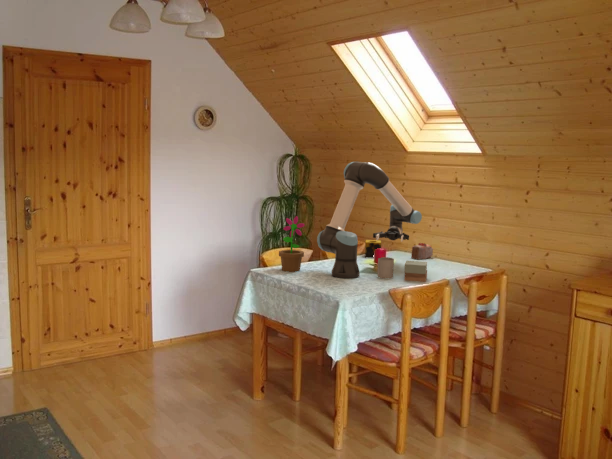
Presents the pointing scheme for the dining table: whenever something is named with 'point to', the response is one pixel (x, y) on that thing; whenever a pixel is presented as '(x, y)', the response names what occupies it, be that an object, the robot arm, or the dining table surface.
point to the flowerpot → (291, 257)
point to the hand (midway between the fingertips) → (389, 238)
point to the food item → (421, 251)
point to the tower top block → (415, 267)
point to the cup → (385, 267)
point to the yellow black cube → (371, 247)
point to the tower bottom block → (415, 277)
